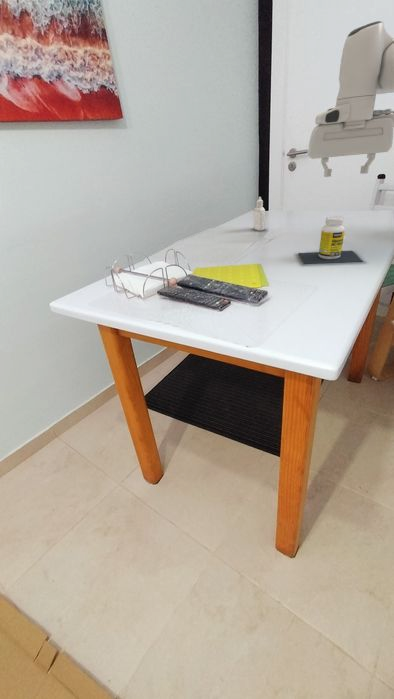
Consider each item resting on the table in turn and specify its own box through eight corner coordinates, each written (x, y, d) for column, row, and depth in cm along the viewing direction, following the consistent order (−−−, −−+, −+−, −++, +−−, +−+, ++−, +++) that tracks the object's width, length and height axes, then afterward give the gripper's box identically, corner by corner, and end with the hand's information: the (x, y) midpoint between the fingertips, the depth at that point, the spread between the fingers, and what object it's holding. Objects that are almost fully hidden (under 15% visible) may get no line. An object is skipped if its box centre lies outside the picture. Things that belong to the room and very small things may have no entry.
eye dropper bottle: (253, 231, 133) (253, 198, 126) (253, 227, 137) (254, 196, 131) (264, 230, 132) (265, 197, 126) (264, 227, 137) (265, 195, 130)
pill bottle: (330, 261, 96) (336, 221, 90) (313, 256, 101) (318, 218, 95) (345, 256, 99) (351, 217, 93) (327, 252, 103) (333, 214, 98)
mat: (351, 251, 103) (352, 250, 103) (362, 261, 95) (362, 261, 95) (298, 253, 105) (298, 253, 105) (304, 264, 97) (304, 263, 97)
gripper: (393, 108, 85) (381, 170, 92) (309, 117, 87) (304, 176, 94) (404, 107, 79) (390, 172, 87) (314, 116, 82) (309, 179, 89)
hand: (345, 174), depth 91 cm, fingers open, 8 cm apart
